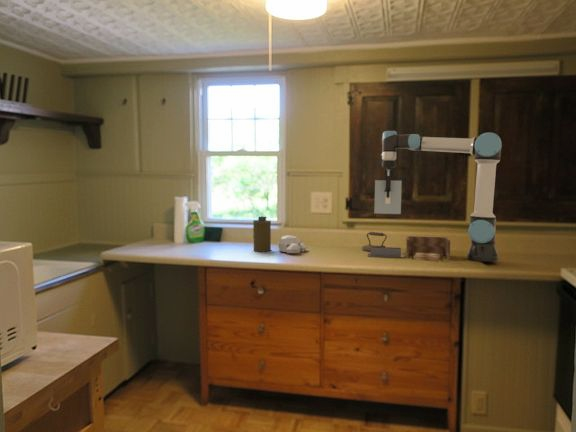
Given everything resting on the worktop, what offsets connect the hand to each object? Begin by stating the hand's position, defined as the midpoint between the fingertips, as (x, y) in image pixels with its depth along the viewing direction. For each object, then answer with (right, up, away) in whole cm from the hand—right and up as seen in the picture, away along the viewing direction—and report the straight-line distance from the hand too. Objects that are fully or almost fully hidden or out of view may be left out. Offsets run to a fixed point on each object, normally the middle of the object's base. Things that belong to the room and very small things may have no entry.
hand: (387, 203), depth 252 cm
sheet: (0, -6, 0) cm, 6 cm away
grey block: (-1, -29, +2) cm, 29 cm away
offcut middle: (+19, -29, -8) cm, 36 cm away
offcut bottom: (+20, -30, -8) cm, 37 cm away
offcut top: (+19, -28, -8) cm, 35 cm away
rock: (-53, -28, +19) cm, 63 cm away
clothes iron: (-7, -29, +20) cm, 36 cm away
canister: (-70, -27, +23) cm, 78 cm away
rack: (+22, -29, +2) cm, 36 cm away
